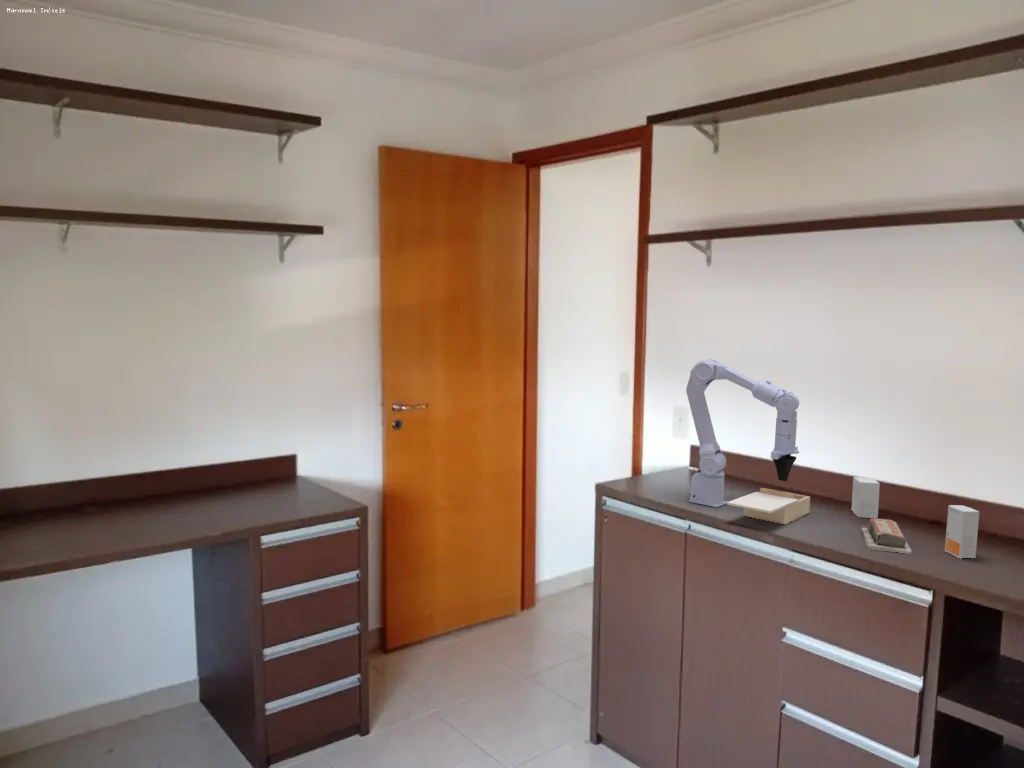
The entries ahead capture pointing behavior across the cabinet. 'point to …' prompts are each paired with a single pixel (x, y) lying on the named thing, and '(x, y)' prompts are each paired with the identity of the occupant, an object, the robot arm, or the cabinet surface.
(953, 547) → the skincare box
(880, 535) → the packaged product
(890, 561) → the cabinet surface
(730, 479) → the cabinet surface
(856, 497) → the small box
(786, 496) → the lid
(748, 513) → the box
